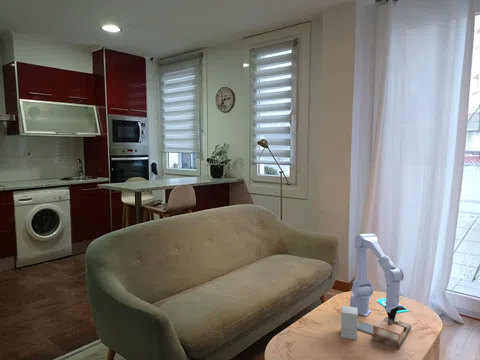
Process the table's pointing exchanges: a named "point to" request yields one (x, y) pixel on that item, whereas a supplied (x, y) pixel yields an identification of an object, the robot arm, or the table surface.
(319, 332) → the table surface
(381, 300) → the handheld game console
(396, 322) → the birch block
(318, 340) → the table surface
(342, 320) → the supplement box
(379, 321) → the slide cover
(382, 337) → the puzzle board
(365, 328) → the slate mat
